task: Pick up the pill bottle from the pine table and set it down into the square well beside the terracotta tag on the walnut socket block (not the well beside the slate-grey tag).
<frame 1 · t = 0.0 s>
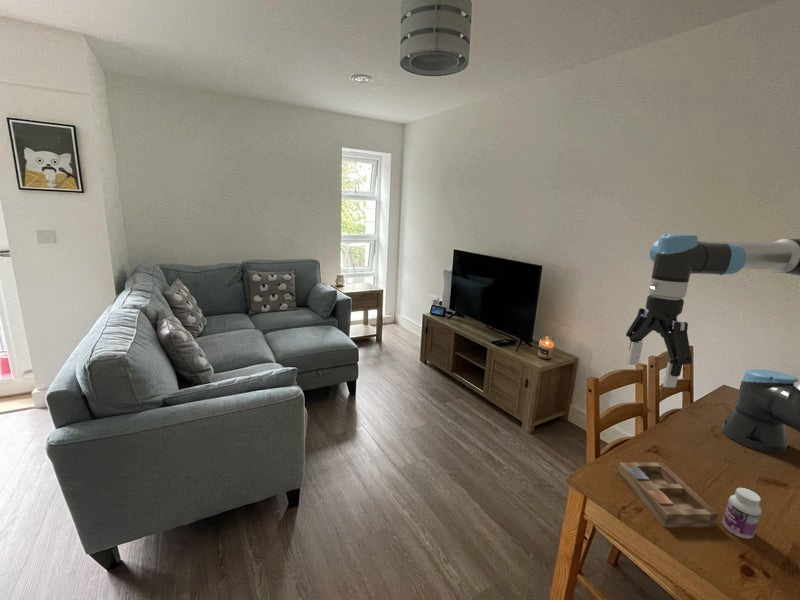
hand: (649, 374, 96), 28 cm above the table, fingers open, 13 cm apart
socket block: (661, 497, 91), on the table
pill bottle: (737, 530, 83), on the table
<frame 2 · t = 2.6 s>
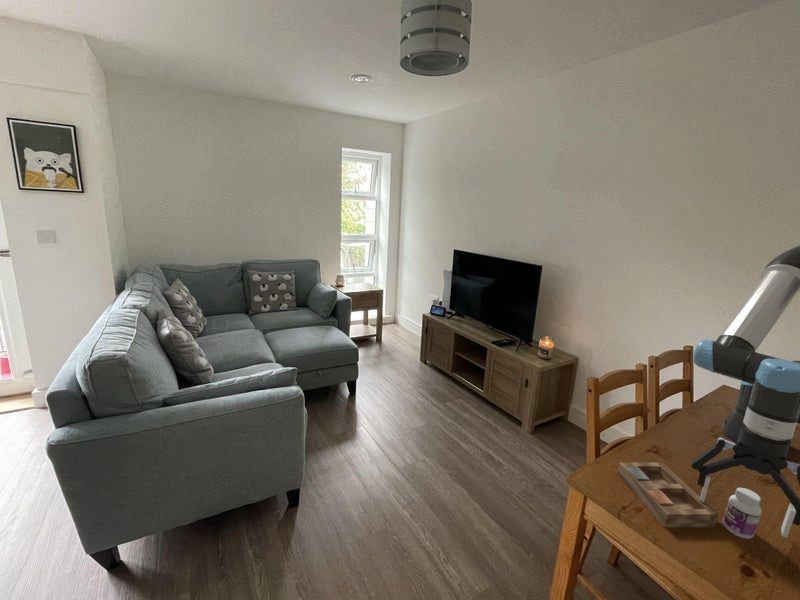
hand: (740, 515, 82), 4 cm above the table, fingers open, 13 cm apart
nothing on the table moved.
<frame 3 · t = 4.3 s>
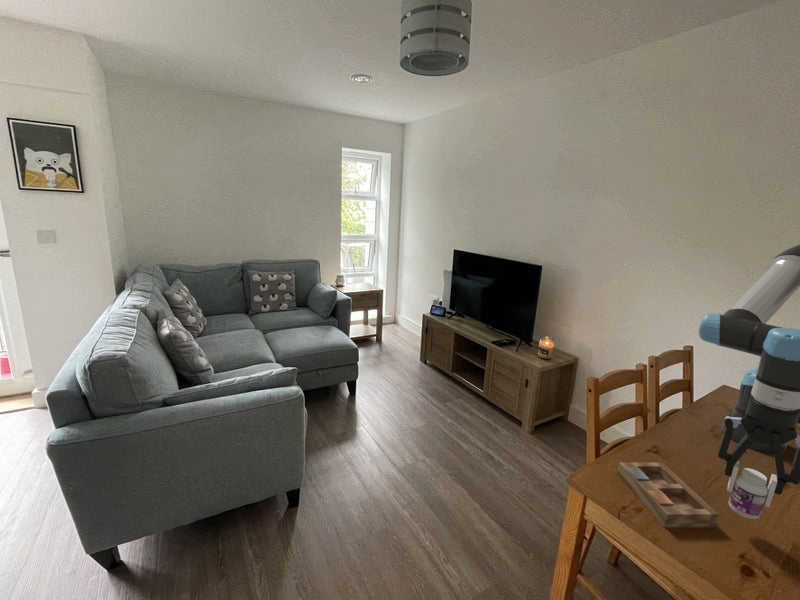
hand: (747, 495, 81), 9 cm above the table, fingers closed on pill bottle, 5 cm apart
pill bottle: (743, 511, 82), point 5 cm above the table, touching gripper
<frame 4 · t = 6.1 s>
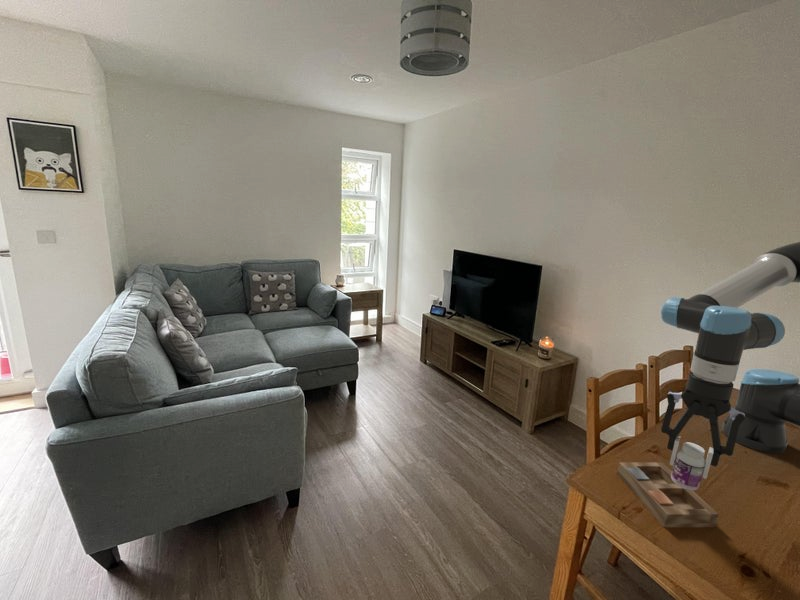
hand: (688, 468, 85), 12 cm above the table, fingers closed on pill bottle, 5 cm apart
pill bottle: (683, 483, 85), point 8 cm above the table, touching gripper
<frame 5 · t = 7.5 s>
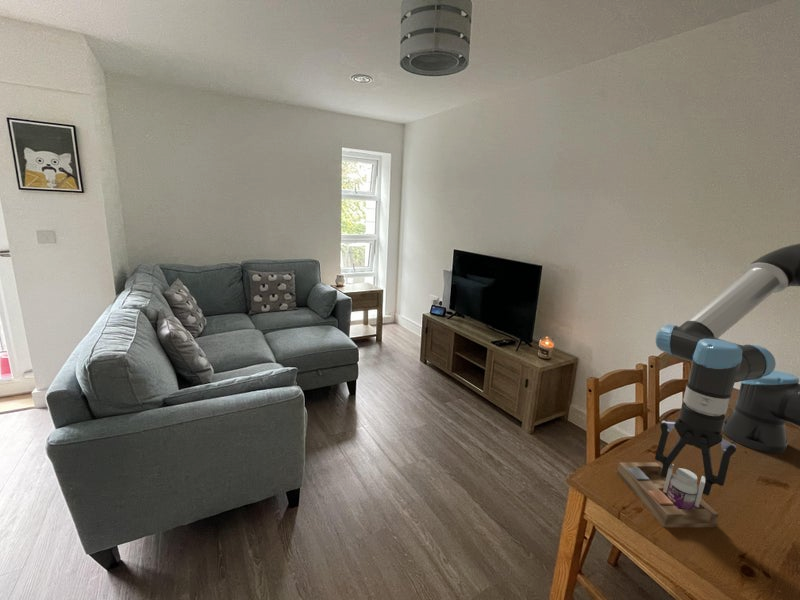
hand: (681, 496, 86), 4 cm above the table, fingers closed on pill bottle, 5 cm apart
pill bottle: (677, 509, 87), point 1 cm above the table, touching gripper, socket block
when the fingers open (4 cm above the table, at t = 7.7 s): pill bottle stays where it is, resting on socket block.
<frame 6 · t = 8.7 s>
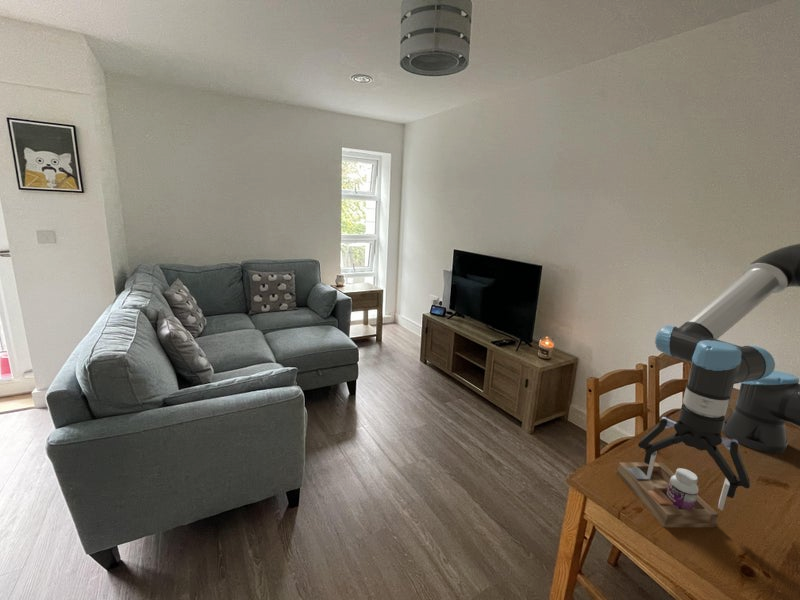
hand: (682, 490, 86), 6 cm above the table, fingers open, 13 cm apart
pill bottle: (677, 509, 87), point 1 cm above the table, touching socket block
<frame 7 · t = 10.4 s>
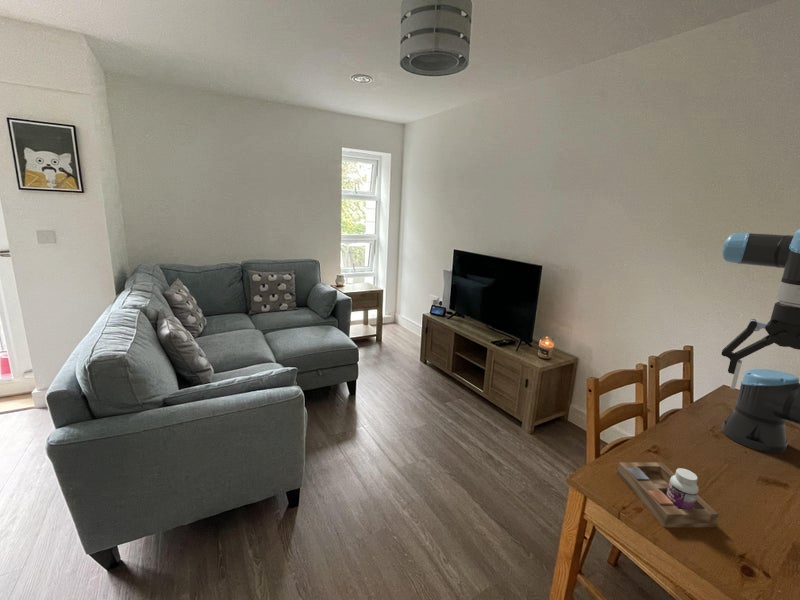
hand: (773, 397, 80), 30 cm above the table, fingers open, 13 cm apart
nothing on the table moved.
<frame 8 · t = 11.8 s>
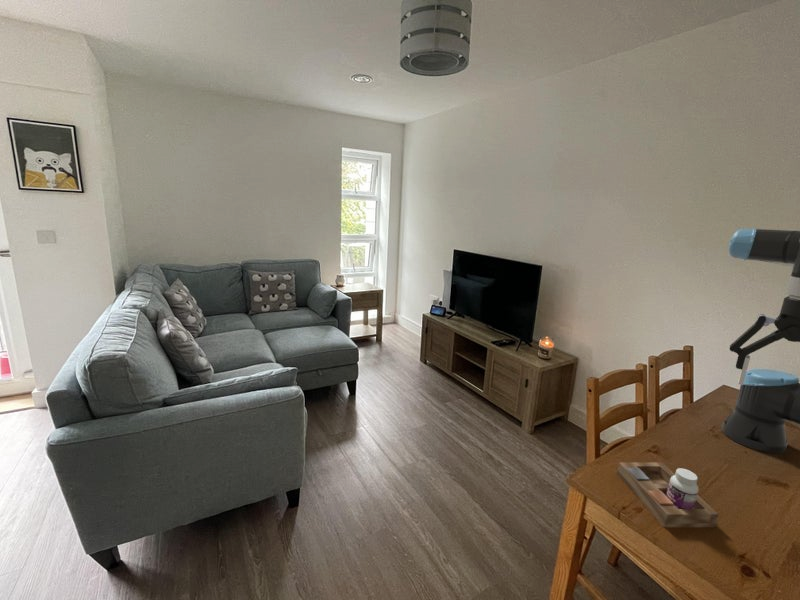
hand: (782, 393, 80), 32 cm above the table, fingers open, 13 cm apart
nothing on the table moved.
at the end: pill bottle 0.6 cm from the target spot on the socket block, point 0.8 cm above the socket block's base; pill bottle tilted 0°; the gripper is holding nothing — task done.
